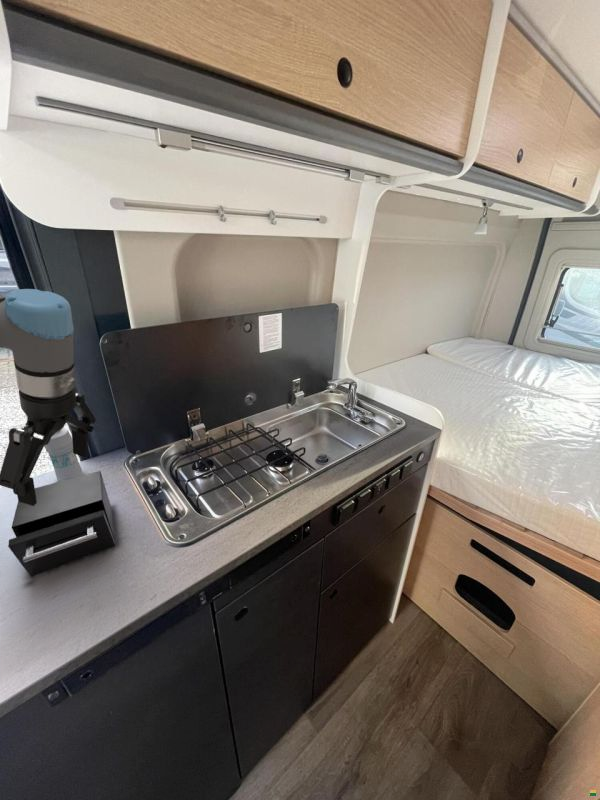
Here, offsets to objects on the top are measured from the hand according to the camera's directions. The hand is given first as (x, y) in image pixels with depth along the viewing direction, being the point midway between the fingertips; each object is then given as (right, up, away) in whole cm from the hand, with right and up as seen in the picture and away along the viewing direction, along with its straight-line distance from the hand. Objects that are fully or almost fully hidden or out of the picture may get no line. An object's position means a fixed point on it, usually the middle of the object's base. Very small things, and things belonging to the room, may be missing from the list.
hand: (56, 476), depth 64 cm
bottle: (-21, -9, +34) cm, 41 cm away
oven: (-6, -18, +15) cm, 25 cm away
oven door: (-2, -22, +8) cm, 23 cm away
